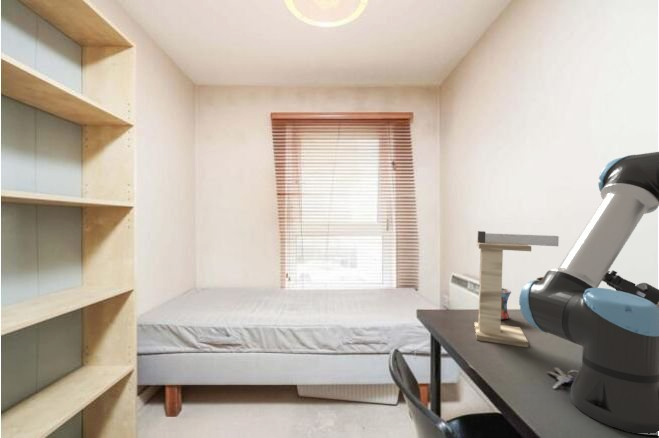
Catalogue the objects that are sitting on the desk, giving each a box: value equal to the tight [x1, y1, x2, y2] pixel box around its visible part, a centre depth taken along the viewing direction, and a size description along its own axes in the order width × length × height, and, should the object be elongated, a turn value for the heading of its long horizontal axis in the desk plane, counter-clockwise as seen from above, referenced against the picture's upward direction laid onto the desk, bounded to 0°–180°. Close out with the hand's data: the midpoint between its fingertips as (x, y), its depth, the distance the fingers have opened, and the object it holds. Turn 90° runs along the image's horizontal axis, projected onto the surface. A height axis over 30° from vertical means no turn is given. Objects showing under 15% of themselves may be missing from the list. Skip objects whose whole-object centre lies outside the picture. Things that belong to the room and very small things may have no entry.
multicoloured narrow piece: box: [501, 287, 512, 320], centre depth 126 cm, size 12×9×11 cm
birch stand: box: [473, 240, 532, 348], centre depth 105 cm, size 14×14×30 cm
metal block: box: [477, 230, 560, 247], centre depth 104 cm, size 22×4×4 cm, turn 69°
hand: (573, 259), depth 98 cm, fingers open, 13 cm apart
